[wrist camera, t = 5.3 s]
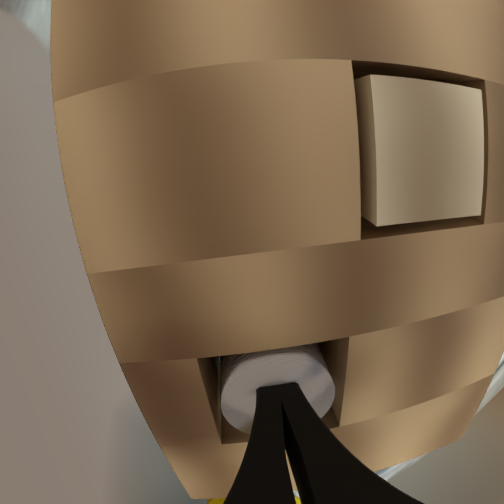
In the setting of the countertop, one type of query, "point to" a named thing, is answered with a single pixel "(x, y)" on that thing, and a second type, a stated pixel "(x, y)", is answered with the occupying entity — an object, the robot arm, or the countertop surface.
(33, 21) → the countertop surface
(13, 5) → the countertop surface
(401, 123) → the peg maple
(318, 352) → the peg steel
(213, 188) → the oak block
